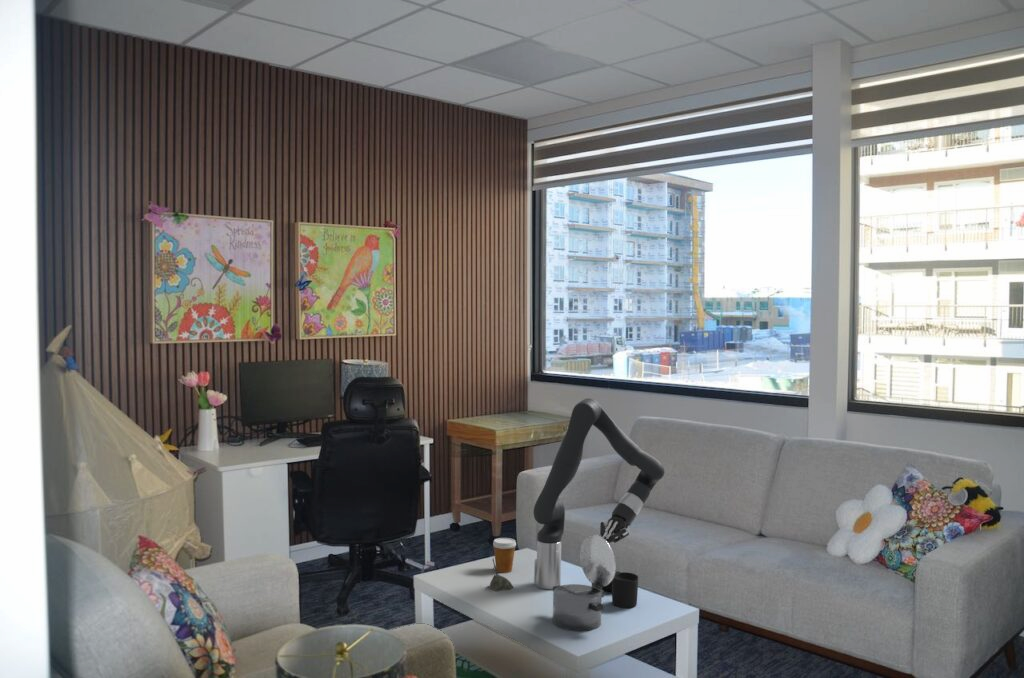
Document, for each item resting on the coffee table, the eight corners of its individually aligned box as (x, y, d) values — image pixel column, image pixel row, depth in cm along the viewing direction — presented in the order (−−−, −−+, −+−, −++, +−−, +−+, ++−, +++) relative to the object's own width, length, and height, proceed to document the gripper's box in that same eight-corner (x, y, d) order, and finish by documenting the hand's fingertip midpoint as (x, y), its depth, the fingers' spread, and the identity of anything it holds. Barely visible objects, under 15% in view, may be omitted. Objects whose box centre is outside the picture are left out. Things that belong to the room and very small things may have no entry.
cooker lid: (579, 581, 272) (585, 579, 274) (612, 595, 258) (618, 593, 260) (580, 530, 272) (586, 529, 274) (613, 541, 258) (620, 540, 260)
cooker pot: (577, 606, 276) (577, 578, 276) (621, 627, 257) (622, 597, 257) (537, 615, 266) (537, 586, 266) (580, 638, 247) (580, 606, 247)
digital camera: (620, 589, 296) (621, 570, 296) (619, 593, 291) (619, 574, 291) (593, 586, 299) (593, 568, 299) (591, 591, 293) (591, 572, 293)
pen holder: (640, 608, 275) (641, 580, 275) (614, 608, 274) (614, 580, 274) (634, 599, 284) (635, 572, 284) (608, 599, 284) (609, 572, 284)
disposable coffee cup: (507, 575, 310) (507, 545, 310) (487, 571, 315) (488, 541, 315) (520, 569, 318) (520, 540, 318) (500, 565, 323) (501, 536, 323)
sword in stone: (506, 583, 301) (508, 552, 301) (516, 590, 294) (518, 558, 294) (483, 586, 296) (484, 555, 296) (493, 593, 289) (494, 561, 289)
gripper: (609, 498, 277) (582, 538, 270) (635, 505, 266) (607, 547, 259) (620, 512, 280) (593, 551, 273) (646, 519, 269) (619, 560, 262)
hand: (600, 549), depth 266 cm, fingers closed
